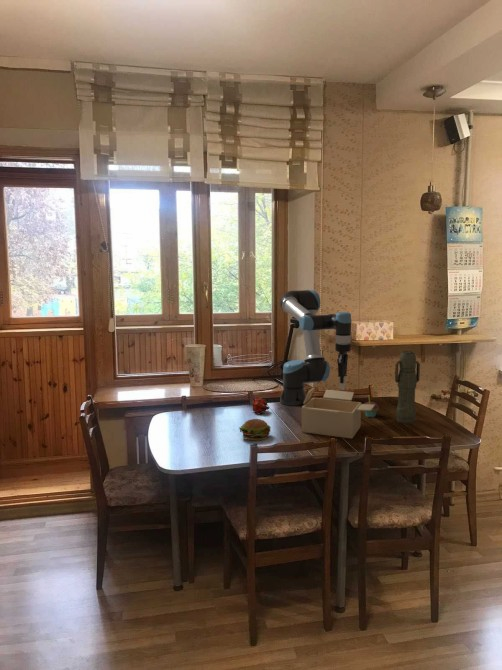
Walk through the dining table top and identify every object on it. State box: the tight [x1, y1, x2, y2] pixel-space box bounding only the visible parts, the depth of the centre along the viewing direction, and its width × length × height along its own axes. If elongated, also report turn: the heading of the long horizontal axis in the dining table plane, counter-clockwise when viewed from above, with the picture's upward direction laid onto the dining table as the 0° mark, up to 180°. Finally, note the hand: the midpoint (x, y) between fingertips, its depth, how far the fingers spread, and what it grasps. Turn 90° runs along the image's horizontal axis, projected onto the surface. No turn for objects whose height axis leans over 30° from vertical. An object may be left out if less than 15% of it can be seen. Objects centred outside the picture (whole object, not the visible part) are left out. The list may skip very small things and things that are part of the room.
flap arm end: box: [303, 386, 315, 405], centre depth 248 cm, size 1×9×6 cm, turn 158°
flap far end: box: [357, 403, 375, 412], centre depth 238 cm, size 1×9×6 cm
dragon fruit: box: [251, 397, 270, 415], centre depth 273 cm, size 8×8×12 cm
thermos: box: [394, 350, 421, 425], centre depth 255 cm, size 9×12×35 cm
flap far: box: [322, 389, 355, 402], centre depth 256 cm, size 14×1×6 cm
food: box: [238, 418, 271, 442], centre depth 237 cm, size 14×14×8 cm
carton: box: [301, 397, 362, 439], centre depth 245 cm, size 24×18×12 cm
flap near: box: [307, 408, 341, 413], centre depth 232 cm, size 14×1×6 cm
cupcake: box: [363, 394, 380, 418], centre depth 265 cm, size 9×8×12 cm
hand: (342, 388), depth 262 cm, fingers closed
